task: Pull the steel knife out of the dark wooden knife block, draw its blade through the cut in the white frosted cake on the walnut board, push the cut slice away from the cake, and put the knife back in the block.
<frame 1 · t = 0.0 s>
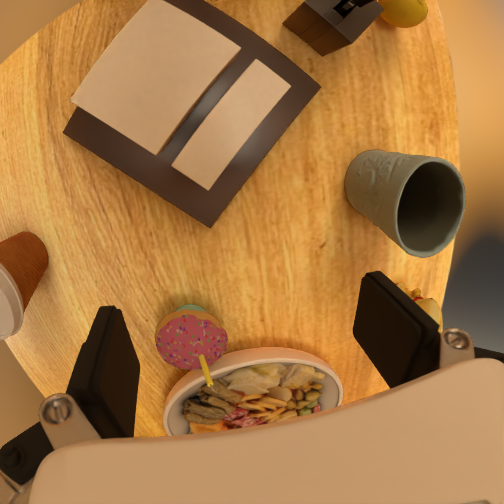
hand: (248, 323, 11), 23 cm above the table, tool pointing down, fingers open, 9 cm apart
knife: (352, 1, 18), in the knife block
disposable coffee cup: (29, 254, 29), on the table
cake board: (189, 99, 27), on the table
chocolate bunny: (385, 303, 43), on the table
lemon: (383, 15, 25), on the table
cupcake: (189, 318, 37), on the table
knife block: (319, 22, 25), on the table
cake slice: (225, 123, 28), point 1 cm above the table, touching cake board
grey green embossed vase: (370, 182, 35), on the table
cake: (158, 78, 24), resting on cake board
bowl: (250, 398, 46), on the table
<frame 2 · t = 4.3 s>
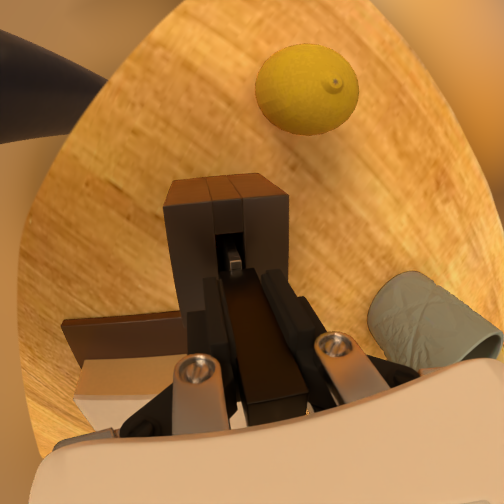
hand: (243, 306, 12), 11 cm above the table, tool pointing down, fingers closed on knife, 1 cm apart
knife: (234, 276, 14), in the knife block, touching gripper
cake board: (187, 388, 27), on the table
lemon: (283, 96, 18), on the table
knife block: (219, 223, 21), on the table
grey green embossed vase: (397, 306, 29), on the table
cake: (149, 398, 26), resting on cake board
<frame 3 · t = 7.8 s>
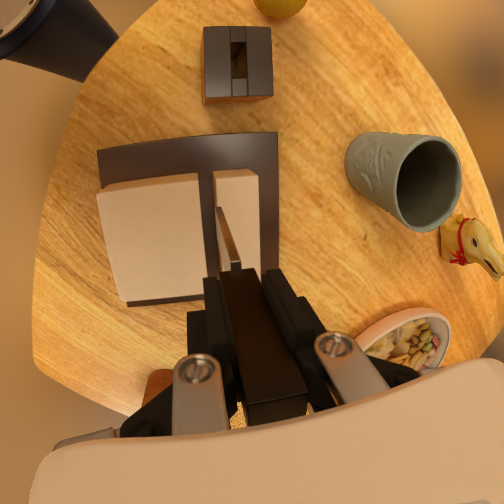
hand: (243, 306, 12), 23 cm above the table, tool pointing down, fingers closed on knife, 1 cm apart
knife: (234, 276, 14), point 21 cm above the table, touching gripper
disposable coffee cup: (167, 380, 43), on the table
cake board: (193, 223, 34), on the table
chocolate bunny: (441, 232, 43), on the table
lemon: (270, 7, 25), on the table
knife block: (229, 73, 28), on the table
cake slice: (233, 221, 34), point 1 cm above the table, touching cake board
grey green embossed vase: (370, 165, 35), on the table
cake: (158, 229, 32), resting on cake board
bowl: (382, 360, 53), on the table
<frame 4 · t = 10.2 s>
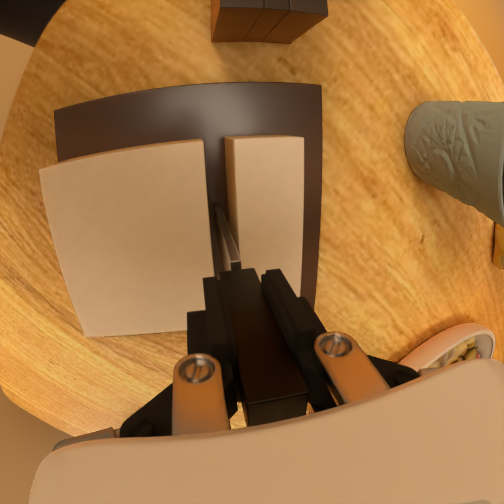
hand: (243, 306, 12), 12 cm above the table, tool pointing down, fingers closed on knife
knife: (234, 276, 14), point 10 cm above the table, touching gripper
cake board: (193, 217, 22), on the table
chocolate bunny: (495, 234, 31), on the table
knife block: (250, 4, 16), on the table
cake slice: (255, 215, 22), point 1 cm above the table, touching cake board
grey green embossed vase: (431, 144, 24), on the table
cake: (141, 227, 21), resting on cake board
bowl: (418, 383, 41), on the table
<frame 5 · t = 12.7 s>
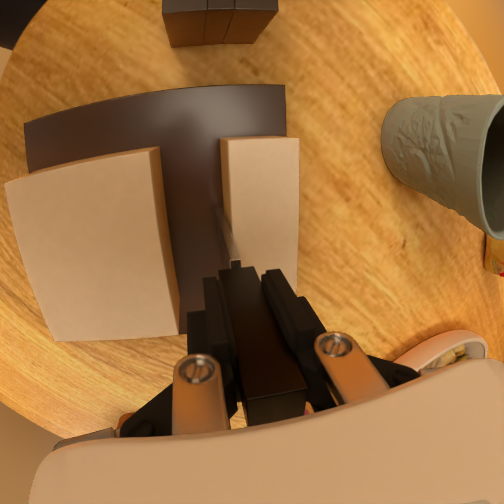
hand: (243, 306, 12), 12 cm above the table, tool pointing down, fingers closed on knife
knife: (234, 275, 14), point 9 cm above the table, touching gripper
cake board: (157, 224, 22), on the table
chocolate bunny: (486, 237, 30), on the table
knife block: (211, 6, 16), on the table
cake slice: (251, 216, 22), point 1 cm above the table, touching cake board
grey green embossed vase: (412, 143, 23), on the table
cake: (106, 235, 20), resting on cake board
bowl: (407, 390, 40), on the table
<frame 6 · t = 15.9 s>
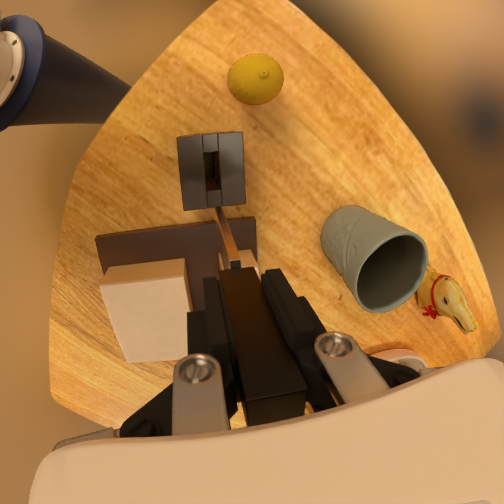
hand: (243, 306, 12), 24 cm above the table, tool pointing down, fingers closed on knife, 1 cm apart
knife: (234, 275, 14), point 22 cm above the table, touching gripper
cake board: (184, 295, 39), on the table
chocolate bunny: (418, 283, 47), on the table
lemon: (247, 85, 30), on the table
knife block: (208, 163, 32), on the table
cake slice: (237, 292, 39), point 1 cm above the table, touching cake board
grey green embossed vase: (345, 235, 40), on the table
cake: (154, 303, 37), resting on cake board
bowl: (362, 391, 57), on the table
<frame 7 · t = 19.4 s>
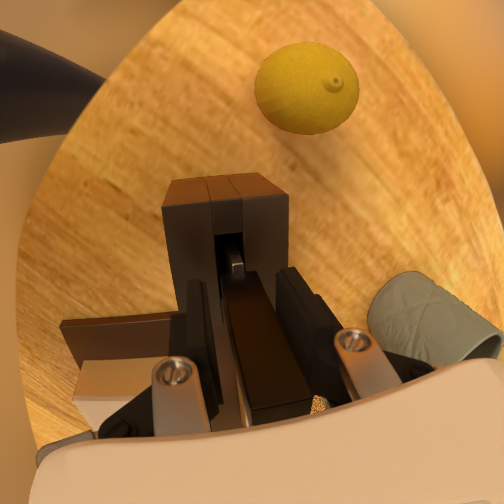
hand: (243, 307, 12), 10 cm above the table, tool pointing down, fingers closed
knife: (236, 278, 14), in the knife block
cake board: (186, 389, 27), on the table
lemon: (282, 95, 18), on the table
knife block: (218, 223, 21), on the table
grey green embossed vase: (397, 306, 29), on the table
cake: (149, 399, 26), resting on cake board
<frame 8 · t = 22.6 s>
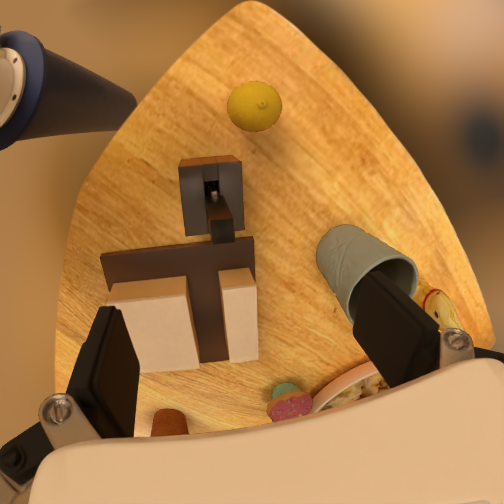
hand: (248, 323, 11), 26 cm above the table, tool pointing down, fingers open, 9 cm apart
knife: (214, 202, 27), in the knife block
disposable coffee cup: (169, 416, 50), on the table
cake board: (185, 310, 40), on the table
chocolate bunny: (411, 295, 49), on the table
lemon: (247, 109, 32), on the table
cupcake: (283, 389, 52), on the table
knife block: (208, 185, 34), on the table
cake slice: (236, 307, 41), point 1 cm above the table, touching cake board
grey green embossed vase: (340, 252, 42), on the table
cake: (157, 316, 39), resting on cake board
bowl: (356, 397, 59), on the table
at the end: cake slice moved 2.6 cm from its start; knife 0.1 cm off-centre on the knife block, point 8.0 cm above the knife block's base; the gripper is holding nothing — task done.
